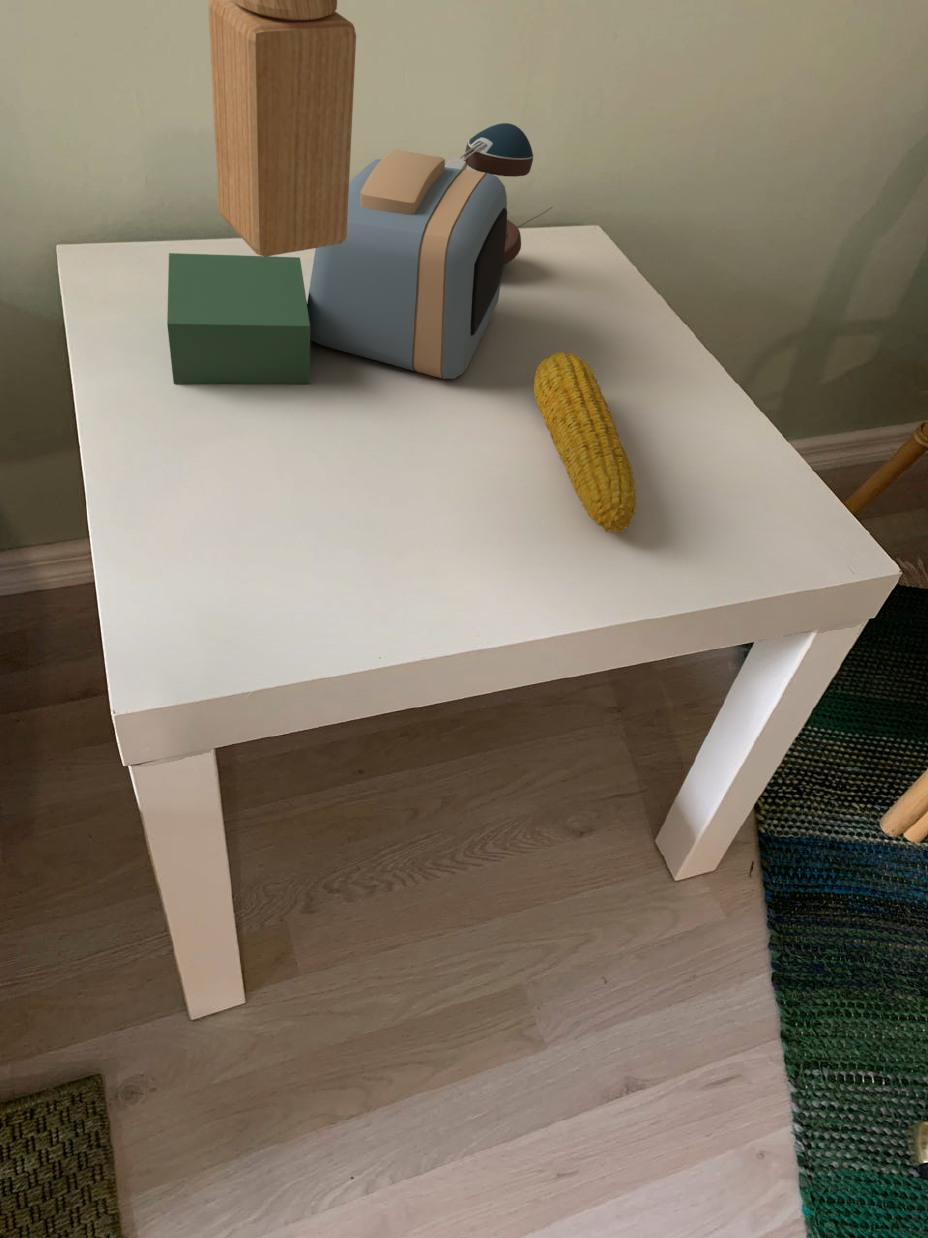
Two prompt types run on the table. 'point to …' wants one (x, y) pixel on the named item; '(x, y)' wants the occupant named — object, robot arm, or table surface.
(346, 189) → the decorative item
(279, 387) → the table surface
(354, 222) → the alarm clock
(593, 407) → the food
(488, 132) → the headphones
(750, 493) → the table surface
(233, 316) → the green block
